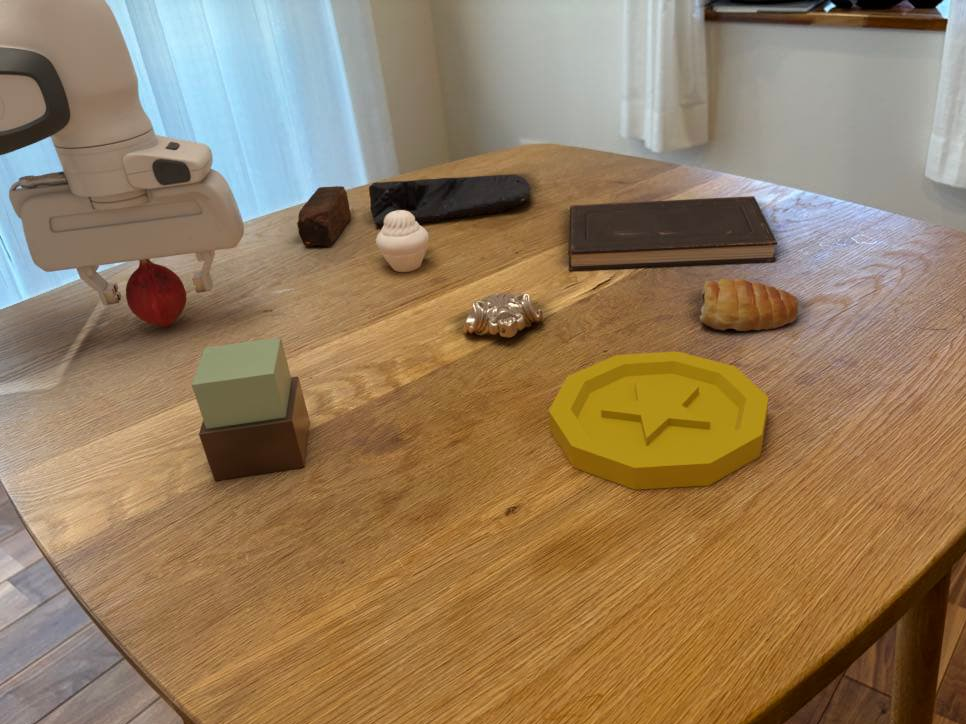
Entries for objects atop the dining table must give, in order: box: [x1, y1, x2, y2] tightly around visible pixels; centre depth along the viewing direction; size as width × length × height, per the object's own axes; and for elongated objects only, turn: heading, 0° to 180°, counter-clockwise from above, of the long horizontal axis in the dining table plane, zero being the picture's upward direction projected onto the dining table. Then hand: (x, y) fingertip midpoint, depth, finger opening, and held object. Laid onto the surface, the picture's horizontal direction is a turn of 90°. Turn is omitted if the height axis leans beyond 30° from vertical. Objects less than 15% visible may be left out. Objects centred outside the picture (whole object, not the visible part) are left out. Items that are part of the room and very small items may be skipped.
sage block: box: [191, 336, 292, 429], centre depth 67 cm, size 6×6×4 cm
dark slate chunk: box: [368, 173, 531, 227], centre depth 118 cm, size 15×22×5 cm
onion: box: [125, 259, 187, 329], centre depth 90 cm, size 6×6×8 cm
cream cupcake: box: [375, 210, 430, 273], centre depth 100 cm, size 6×6×7 cm
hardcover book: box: [567, 195, 778, 272], centre depth 102 cm, size 16×23×2 cm
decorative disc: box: [548, 350, 770, 491], centre depth 69 cm, size 17×18×2 cm
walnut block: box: [198, 375, 311, 482], centre depth 70 cm, size 7×7×4 cm
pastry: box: [699, 277, 799, 332], centre depth 83 cm, size 9×7×4 cm
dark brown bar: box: [296, 185, 352, 248], centre depth 112 cm, size 11×4×5 cm, turn 177°
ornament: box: [462, 292, 544, 338], centre depth 85 cm, size 8×7×4 cm
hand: (159, 296), depth 90 cm, fingers open, 8 cm apart
